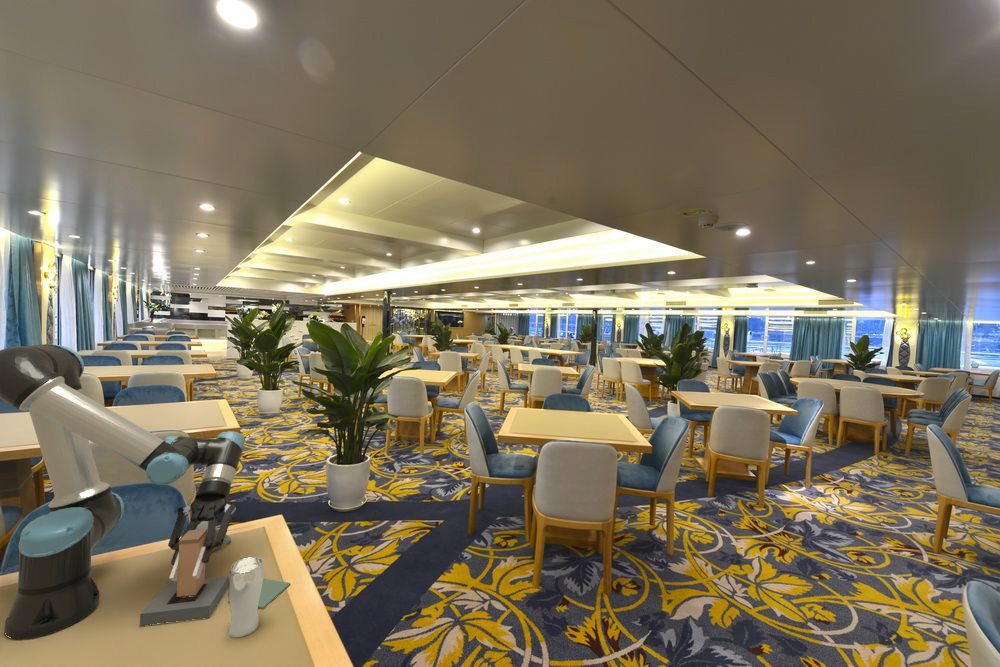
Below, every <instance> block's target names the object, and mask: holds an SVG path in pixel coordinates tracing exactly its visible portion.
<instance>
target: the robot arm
mask: <svg viewBox="0 0 1000 667" xmlns="http://www.w3.org/2000/svg"><path fill="white" fill-rule="evenodd" d="M84 371H85V363H84V360H83V358H82V356H81V355H79V352H77V351H76V350H74V349H72V348H70V347H67V346H64V345H60V344H51V343H45V344H43V343H42V344H34V345H25V346H24V345H23V346H13V347H12V346H11V347H10V346H9V347H7V348H3V349H0V400H1V401H3V402H5V404H6V403H7V404H8V405H10V406H12V407H14V408H16V409H18V410H20V411H22V412H23V411H24V412H25V411H29V416H30V418H31V422H32V424H33V425H32V426H33V428H34V431H35V432H34V433H35V434H36V438H37V442H38V445H39V448H40V451H41V456H42V458H43V460H44V465H45V468H46V471H47V475H48V478H49V481H50V483H51V488H52V490H53V496H54V497H53V498H52V500H51V501H50V502H49V503H48V509H49V513H48V514H43V515H40V516H38V517H36V518H35V519H33V520H31V521H30V522H29V523H27V525H25V526H24V528H22V531H21V533H20V539H19V542H18V547H17V548H18V578H17V579H18V586H17V588H18V590H17V595H16V598H15V600H14V602H13V604H12V607H11V609H10V611H9V614H8V615H7V617H6V620H5V623H4V634H5V633H6V635H7V636H9V637H11V638H13V639H12V640H29V639H34V638H40V637H43V636H47V635H50V634H54V633H55V632H59V631H62V630H64V629H66V628H68V627H70V626H73V625H75V624H77V623H78V622H80V621H82V620H83V619H86V617H88V616H89V615H91V614H92V613H93V612H94V611H96V609H97V607H98V606H99V604H100V596H101V595H100V589H99V588H98V586H97V584H96V582H95V580H94V578H93V575H92V574H91V573H92V572H91V570H92V569H91V568H92V567H91V566H92V551H93V549H94V548H95V546H97V545H98V544H99V542H101V541H102V540H103V539H104V538H105V537H106V536H108V535H109V534H110V533H111V532H112V531H113V530H114V529H115V527H117V526H118V524H119V522H120V520H121V519H122V517H123V515H124V512H125V504H124V501H123V499H122V497H121V496H120V495H119V494H118V493H114V492H113V491H112V489H111V485H110V484H109V483H108V482H105V481H102V480H101V479H100V475H99V471H98V468H97V464H96V462H95V458H94V453H93V452H92V448H91V444H90V443H93V444H95V445H97V446H99V447H101V448H103V449H104V450H107V451H108V452H109V453H112V454H114V455H116V456H118V457H120V458H121V459H123V460H125V461H127V462H129V463H131V464H133V465H135V466H136V467H138V468H140V469H142V470H144V471H145V475H146V477H147V479H148V480H149V482H151V483H152V484H154V485H157V486H166V485H167V486H168V485H170V484H172V483H175V482H177V481H178V480H179V479H180V478H181V477H183V476H184V475H185V474H186V473H187V470H189V468H191V466H206V468H205V470H204V472H203V475H202V477H201V481H200V484H199V486H198V489H197V492H196V495H195V497H194V500H193V501H192V502H191V504H190V505H188V506H185V507H182V506H181V507H178V508H177V518H176V521H175V524H174V527H173V530H172V532H171V535H170V539H169V542H168V545H167V546H168V547H169V548H170V549H171V551H173V550H174V553H173V555H172V558H171V561H170V563H171V565H172V570H171V573H170V575H169V579H170V580H171V582H176V581H177V579H178V557H179V540H180V539H181V538H182V537H183V536H184V535H185V534H186V533H187V532H188V531H189V530H196V528H197V526H198V525H199V524H200V522H203V521H205V520H206V521H207V520H208V530H207V540H206V544H205V545H206V547H202V548H201V551H200V554H199V557H198V560H197V563H196V566H195V569H194V572H193V575H192V576H193V577H194V578H195V579H199V577H200V574H201V571H202V568H203V565H204V563H205V564H207V563H208V562H210V558H211V556H212V553H213V552H212V550H213V548H215V547H217V546H219V547H221V546H222V545H224V544H223V541H224V538H225V535H227V532H228V529H229V526H230V523H231V520H232V517H233V516H234V514H235V513H236V511H237V508H236V506H235V504H229V503H228V498H229V496H230V492H231V488H232V485H233V481H234V479H235V477H236V476H235V475H236V472H237V469H238V465H239V463H240V461H241V457H242V454H243V452H244V451H243V450H244V447H245V442H246V439H245V436H244V435H243V434H242V433H239V432H237V431H232V430H228V431H222V432H220V433H219V434H217V437H216V438H204V437H191V436H183V435H176V436H175V435H169V436H167V437H165V438H164V439H163V438H161V437H158V436H157V435H155V434H153V433H152V432H149V431H148V430H146V429H145V428H143V427H141V426H139V425H138V424H136V423H134V422H132V421H130V420H128V419H127V418H126V417H123V415H120V414H119V413H117V412H115V411H114V410H112V409H110V408H108V407H106V406H105V405H102V404H101V403H100V402H97V401H95V400H94V399H92V398H90V397H89V396H87V395H85V394H83V393H81V392H82V391H83V388H82V387H83V386H82V383H81V380H80V378H81V377H82V375H83V373H84ZM223 511H224V515H223V517H222V520H221V522H220V526H219V527H218V528H219V531H218V534H217V537H216V540H215V530H216V527H217V523H218V516H219V515H220V514H221V513H222V512H223ZM191 512H192V516H191V518H190V520H189V523H188V524H187V526H186V528H185V529H184V527H185V523H186V520H187V517H188V516H189V514H190V513H191ZM183 530H184V532H183ZM6 635H5V636H6ZM11 638H10V639H11Z"/></svg>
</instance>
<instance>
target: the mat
mask: <svg viewBox="0 0 1000 667" xmlns="http://www.w3.org/2000/svg"><path fill="white" fill-rule="evenodd" d="M290 586H291V582H287V581H280V580H275V579H269V578H263V584H262V590H261V595H260V599H259V604H258V610H264V609H266V608H267V607H268V606H269V605H270V604H271V603H272V602H273V601H274V600H275V599H274V598H275V597H276V596H278V595H279V594H280V593H281V594H282V593H283V592H284V591H286V590H287V589H288V588H289V587H290ZM285 589H286V590H285ZM281 594H280V595H281ZM280 595H279V596H280ZM279 596H278V597H279ZM273 599H274V600H273ZM272 600H273V601H272ZM271 601H272V602H271ZM270 602H271V603H270ZM269 603H270V604H269ZM228 604H229V601H228ZM268 604H269V605H268ZM267 605H268V606H267ZM266 606H267V607H266ZM265 607H266V608H265Z"/></svg>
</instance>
